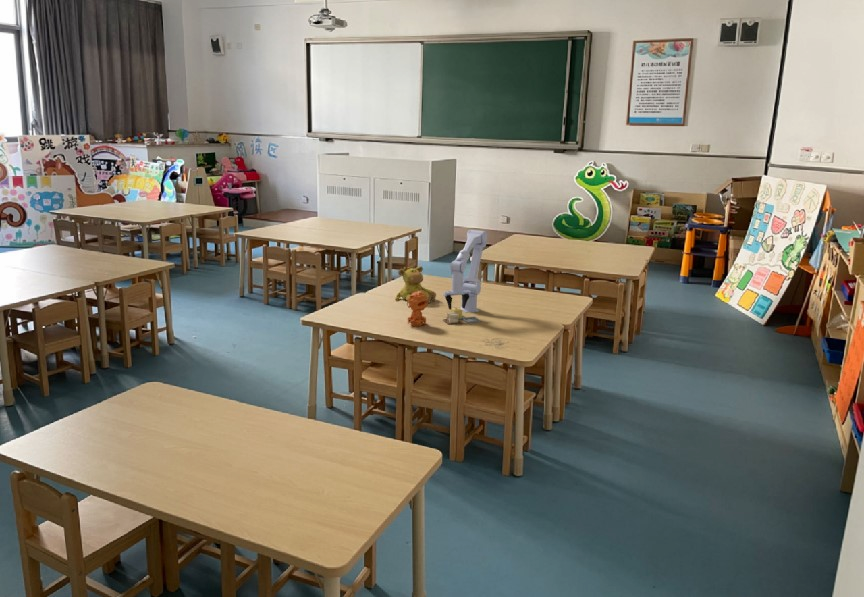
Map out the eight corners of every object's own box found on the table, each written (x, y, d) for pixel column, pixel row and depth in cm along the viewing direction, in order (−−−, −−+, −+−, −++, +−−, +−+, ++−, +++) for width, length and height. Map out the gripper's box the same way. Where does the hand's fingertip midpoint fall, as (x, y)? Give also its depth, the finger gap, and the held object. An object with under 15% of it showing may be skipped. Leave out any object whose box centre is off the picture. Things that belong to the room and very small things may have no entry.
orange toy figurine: (429, 327, 335) (430, 293, 330) (408, 328, 333) (408, 293, 329) (426, 321, 346) (427, 287, 341) (405, 321, 344) (405, 288, 339)
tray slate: (461, 319, 350) (461, 317, 350) (474, 318, 353) (475, 316, 352) (467, 323, 343) (467, 321, 343) (480, 322, 346) (480, 320, 346)
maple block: (446, 321, 346) (446, 312, 345) (454, 320, 347) (455, 312, 346) (449, 323, 342) (450, 315, 341) (458, 322, 343) (458, 314, 342)
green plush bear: (421, 307, 372) (422, 273, 367) (386, 300, 384) (387, 267, 378) (440, 299, 389) (441, 266, 384) (406, 293, 400) (406, 261, 395)
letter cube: (450, 316, 354) (451, 307, 353) (458, 315, 356) (459, 307, 355) (454, 318, 350) (454, 310, 349) (462, 318, 352) (462, 309, 351)
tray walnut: (442, 321, 347) (443, 319, 346) (456, 319, 349) (456, 318, 349) (448, 325, 340) (448, 323, 340) (461, 324, 342) (461, 322, 342)
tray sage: (447, 316, 355) (447, 314, 355) (460, 315, 358) (460, 313, 357) (452, 320, 348) (452, 318, 348) (465, 319, 351) (465, 317, 351)
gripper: (447, 286, 342) (446, 311, 346) (473, 284, 347) (472, 309, 350) (442, 282, 349) (441, 307, 352) (468, 281, 353) (467, 306, 357)
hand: (456, 308), depth 352 cm, fingers open, 7 cm apart
